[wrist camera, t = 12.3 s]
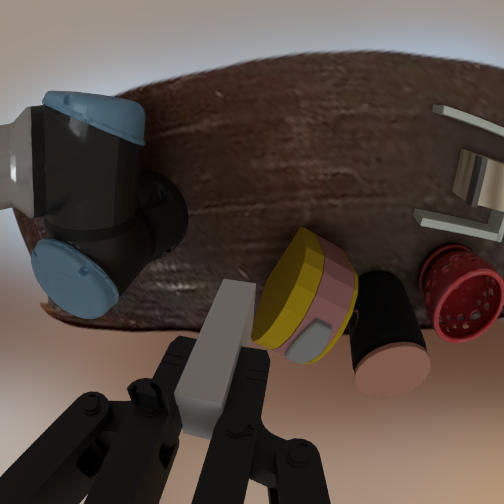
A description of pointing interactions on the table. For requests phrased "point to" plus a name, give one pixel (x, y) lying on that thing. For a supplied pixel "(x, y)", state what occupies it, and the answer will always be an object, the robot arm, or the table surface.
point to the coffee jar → (386, 339)
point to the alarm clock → (306, 299)
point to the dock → (492, 230)
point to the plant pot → (460, 292)
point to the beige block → (480, 180)
